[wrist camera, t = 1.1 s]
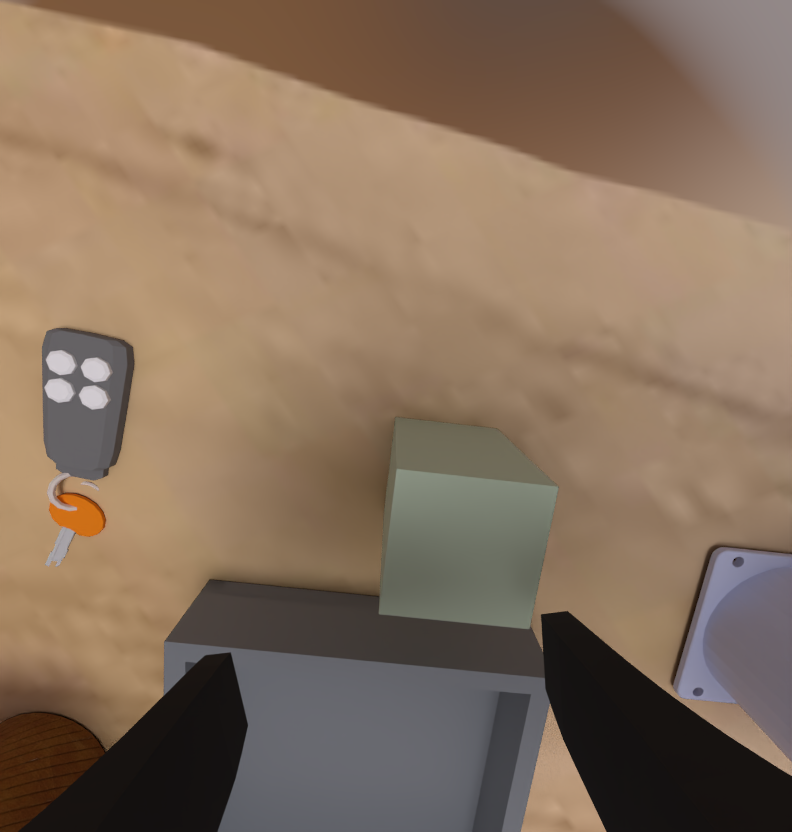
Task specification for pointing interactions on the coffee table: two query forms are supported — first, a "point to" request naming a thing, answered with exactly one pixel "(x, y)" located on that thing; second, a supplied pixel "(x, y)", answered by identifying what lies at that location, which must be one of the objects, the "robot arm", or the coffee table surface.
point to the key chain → (82, 421)
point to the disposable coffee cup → (40, 764)
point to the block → (462, 526)
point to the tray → (369, 712)
